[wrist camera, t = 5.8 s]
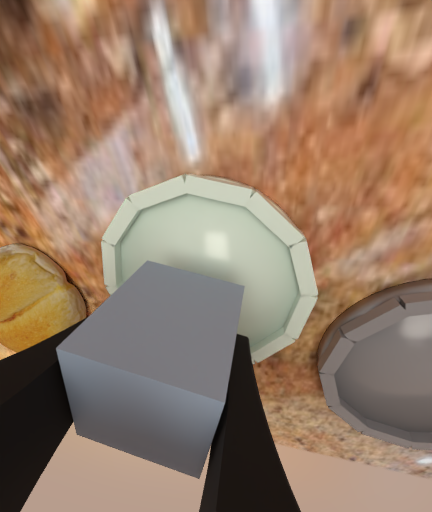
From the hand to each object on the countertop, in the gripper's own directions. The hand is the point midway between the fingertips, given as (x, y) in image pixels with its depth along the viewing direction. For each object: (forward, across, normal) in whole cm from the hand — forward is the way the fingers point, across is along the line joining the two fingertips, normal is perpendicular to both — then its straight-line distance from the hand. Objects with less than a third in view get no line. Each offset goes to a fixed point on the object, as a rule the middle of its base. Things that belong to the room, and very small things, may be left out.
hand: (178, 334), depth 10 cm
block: (+1, 0, 0) cm, 1 cm away
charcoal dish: (+5, -14, +2) cm, 15 cm away
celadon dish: (+5, 0, 0) cm, 5 cm away
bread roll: (+5, +13, +6) cm, 15 cm away
